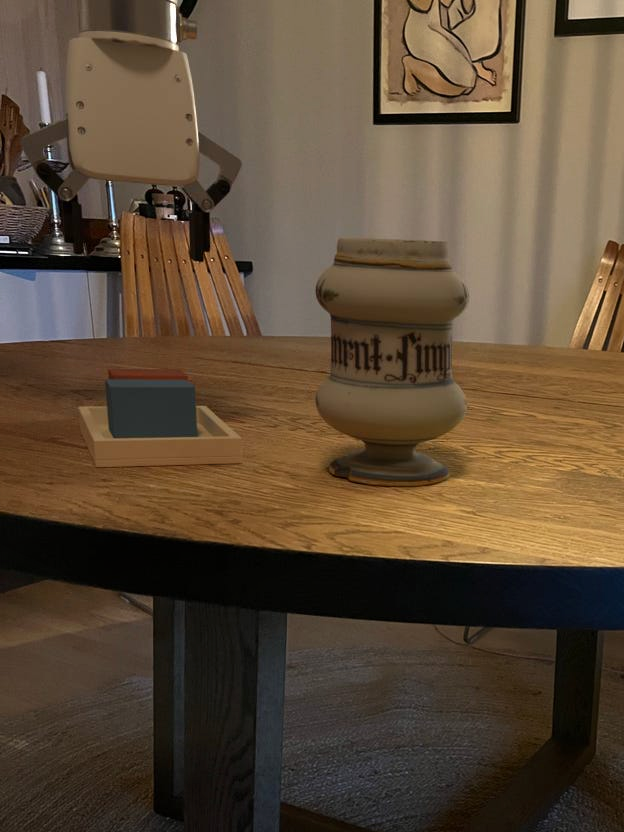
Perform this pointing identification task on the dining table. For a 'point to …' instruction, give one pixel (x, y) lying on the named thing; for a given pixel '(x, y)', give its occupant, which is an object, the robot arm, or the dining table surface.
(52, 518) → the dining table surface
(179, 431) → the blue-gray block
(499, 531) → the dining table surface
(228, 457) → the wooden tray
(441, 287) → the apothecary jar
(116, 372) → the red block
